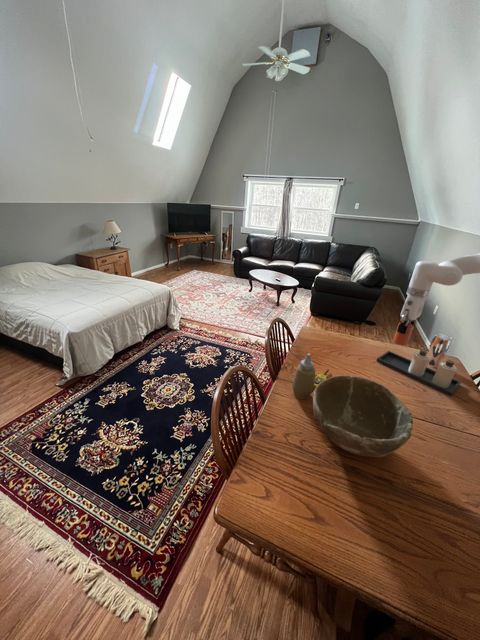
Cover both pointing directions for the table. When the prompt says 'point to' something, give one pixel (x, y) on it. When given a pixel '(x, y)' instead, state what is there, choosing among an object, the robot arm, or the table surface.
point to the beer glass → (438, 349)
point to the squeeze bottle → (304, 378)
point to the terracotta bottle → (403, 335)
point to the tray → (403, 366)
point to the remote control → (319, 379)
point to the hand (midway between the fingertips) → (404, 330)
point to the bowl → (361, 415)
